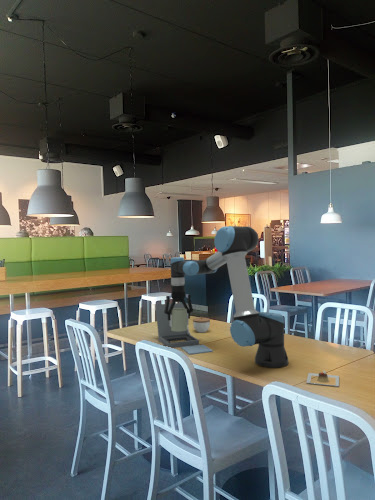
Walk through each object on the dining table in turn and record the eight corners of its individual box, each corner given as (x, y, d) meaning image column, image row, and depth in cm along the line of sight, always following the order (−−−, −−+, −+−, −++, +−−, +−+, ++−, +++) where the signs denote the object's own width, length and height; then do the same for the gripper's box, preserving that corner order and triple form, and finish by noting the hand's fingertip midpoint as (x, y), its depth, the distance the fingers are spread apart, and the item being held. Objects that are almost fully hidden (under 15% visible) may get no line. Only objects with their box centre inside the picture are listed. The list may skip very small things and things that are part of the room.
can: (185, 331, 217) (185, 309, 217) (169, 331, 219) (168, 309, 219) (189, 328, 226) (188, 307, 226) (173, 328, 228) (172, 307, 228)
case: (199, 344, 219) (198, 308, 218) (167, 348, 213) (167, 310, 212) (185, 335, 240) (184, 302, 240) (156, 338, 234) (155, 304, 234)
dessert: (306, 385, 157) (306, 373, 157) (308, 375, 168) (308, 364, 168) (338, 388, 153) (338, 376, 153) (339, 378, 164) (338, 367, 164)
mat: (213, 351, 205) (213, 350, 205) (189, 354, 200) (189, 353, 200) (203, 345, 217) (203, 344, 217) (180, 348, 212) (180, 347, 212)
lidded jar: (213, 330, 252) (213, 315, 252) (204, 334, 243) (204, 318, 243) (198, 328, 258) (198, 314, 258) (189, 332, 249) (189, 317, 248)
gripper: (193, 283, 230) (194, 322, 230) (157, 285, 222) (158, 326, 222) (198, 284, 222) (199, 324, 223) (161, 286, 215) (162, 328, 215)
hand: (179, 325), depth 223 cm, fingers closed on can, 9 cm apart
